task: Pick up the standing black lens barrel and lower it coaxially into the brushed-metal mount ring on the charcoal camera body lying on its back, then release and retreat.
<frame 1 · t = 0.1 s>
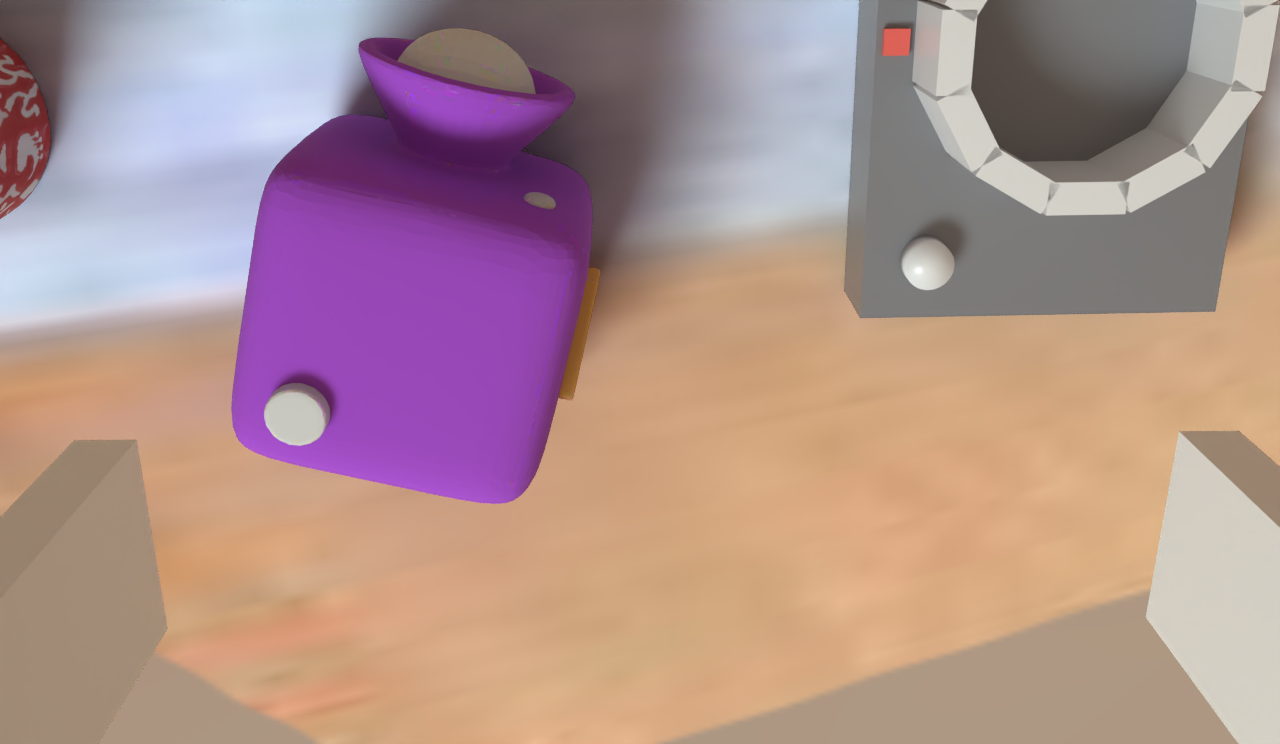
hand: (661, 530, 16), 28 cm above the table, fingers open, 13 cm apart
toy camera: (447, 213, 43), on the table
camera body: (1038, 28, 41), on the table
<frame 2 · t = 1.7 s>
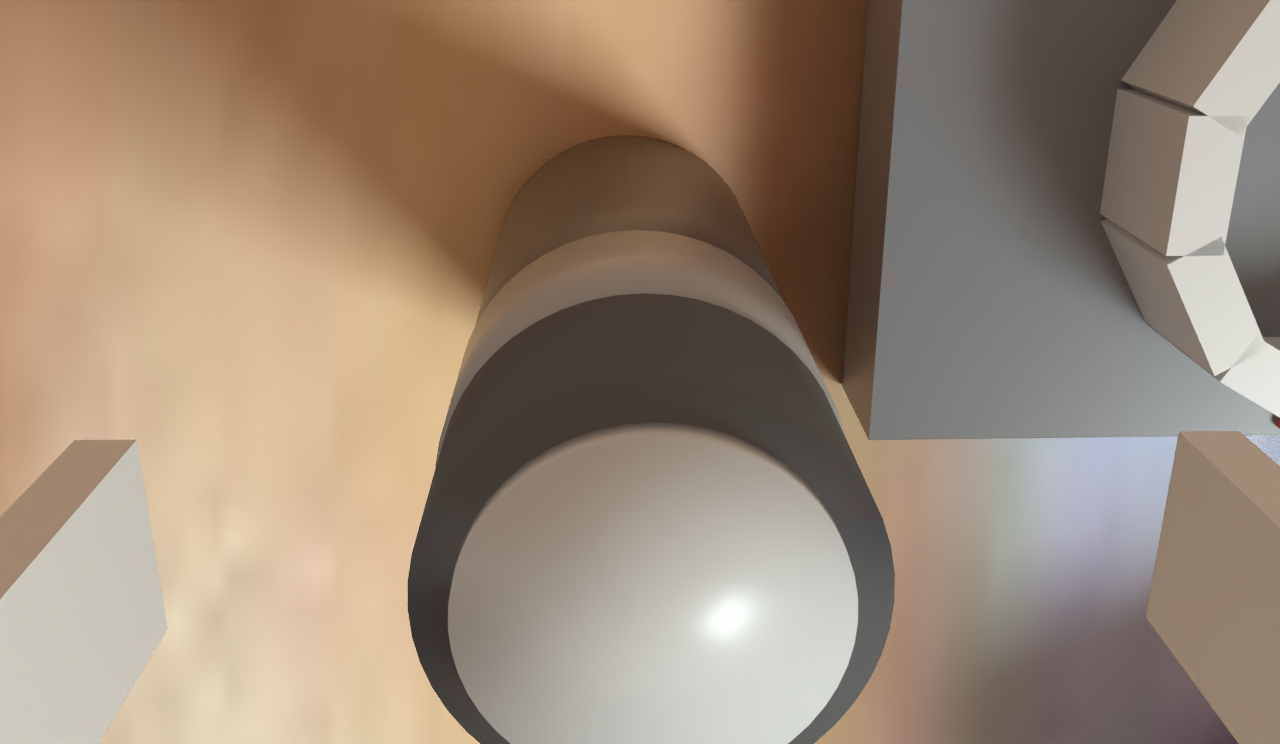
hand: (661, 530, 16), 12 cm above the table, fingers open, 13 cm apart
lens: (625, 262, 27), on the table
camera body: (1274, 123, 26), on the table
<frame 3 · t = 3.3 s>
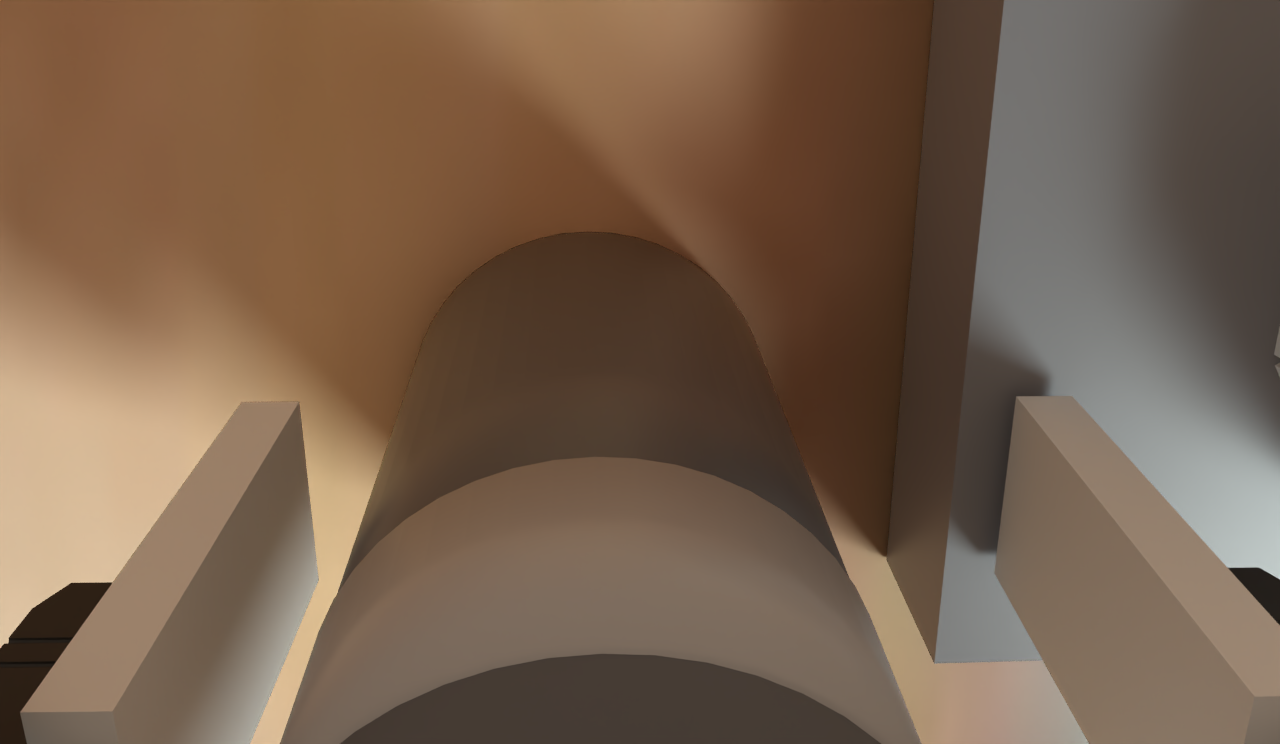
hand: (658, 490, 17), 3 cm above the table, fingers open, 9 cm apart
lens: (590, 402, 20), on the table
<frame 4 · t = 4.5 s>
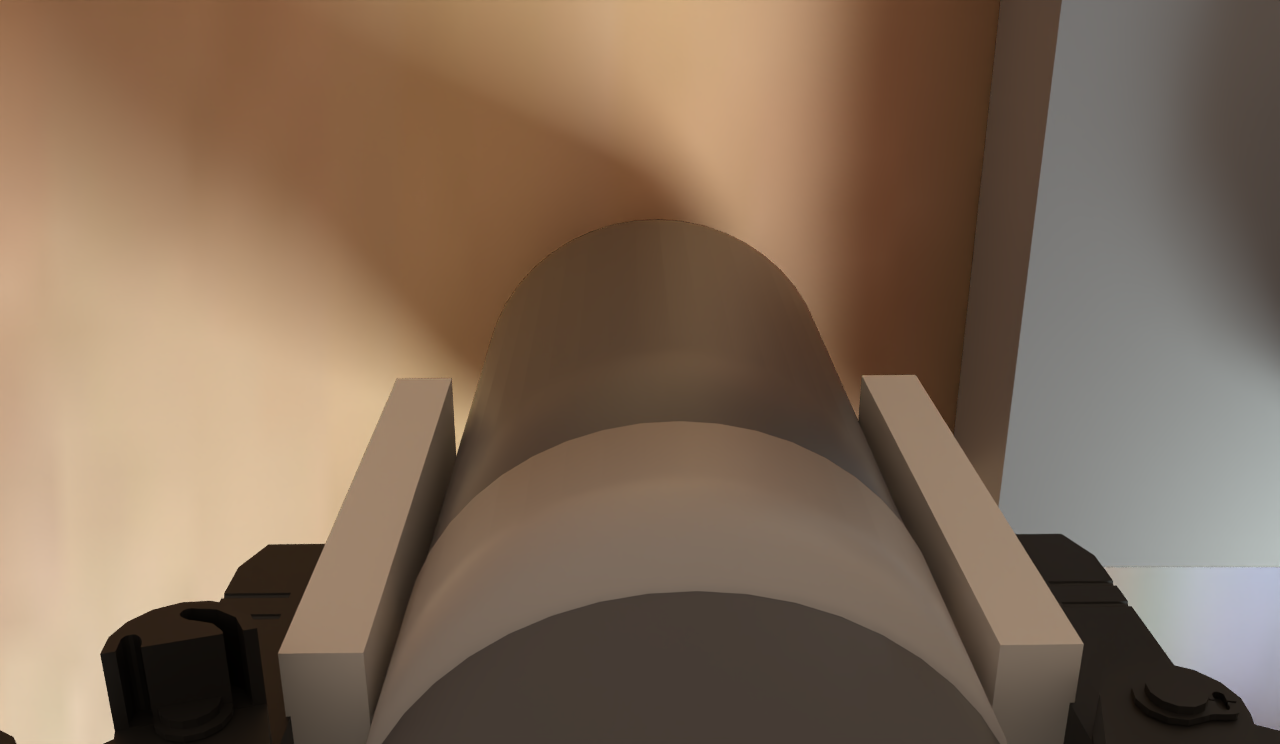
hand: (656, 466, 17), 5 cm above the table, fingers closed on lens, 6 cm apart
lens: (655, 384, 20), point 2 cm above the table, touching gripper
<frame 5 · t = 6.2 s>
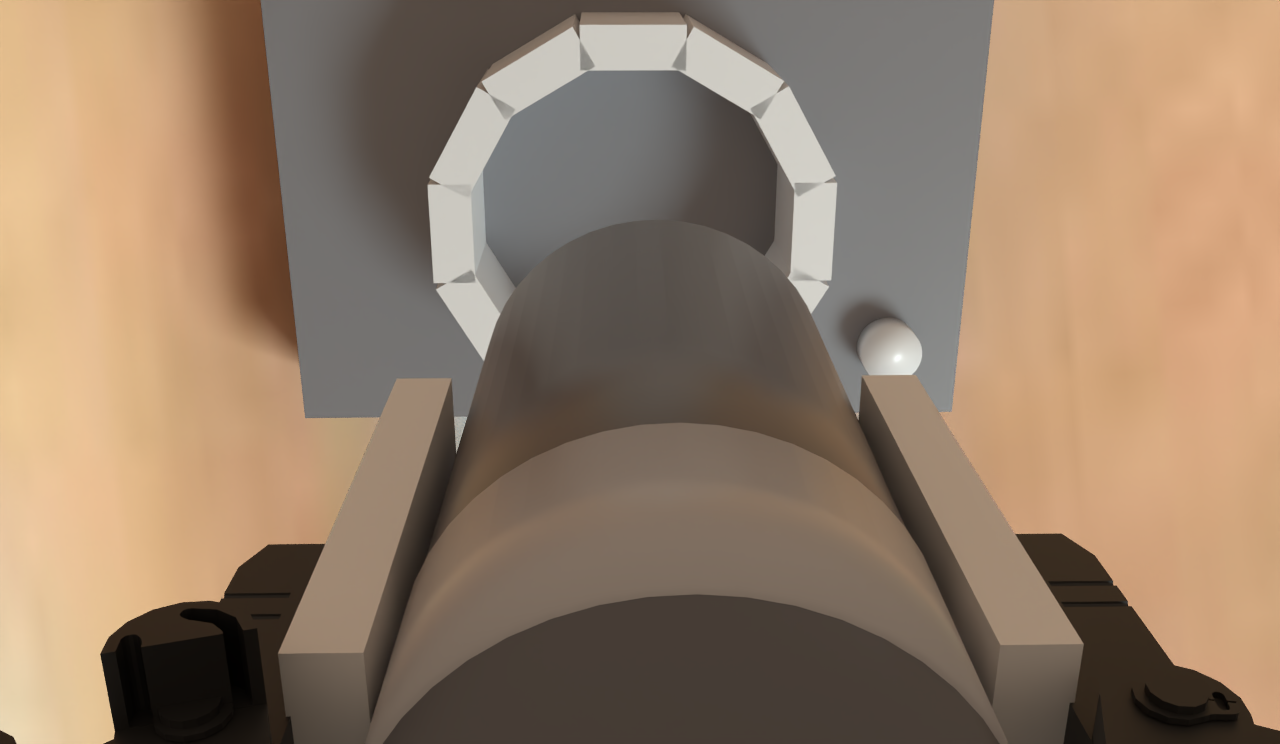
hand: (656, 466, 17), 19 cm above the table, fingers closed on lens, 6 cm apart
lens: (655, 385, 20), point 16 cm above the table, touching gripper
camera body: (628, 178, 35), on the table
when the fingers open (7 cm above the table, at t = 7.9 s): lens stays where it is, resting on camera body.
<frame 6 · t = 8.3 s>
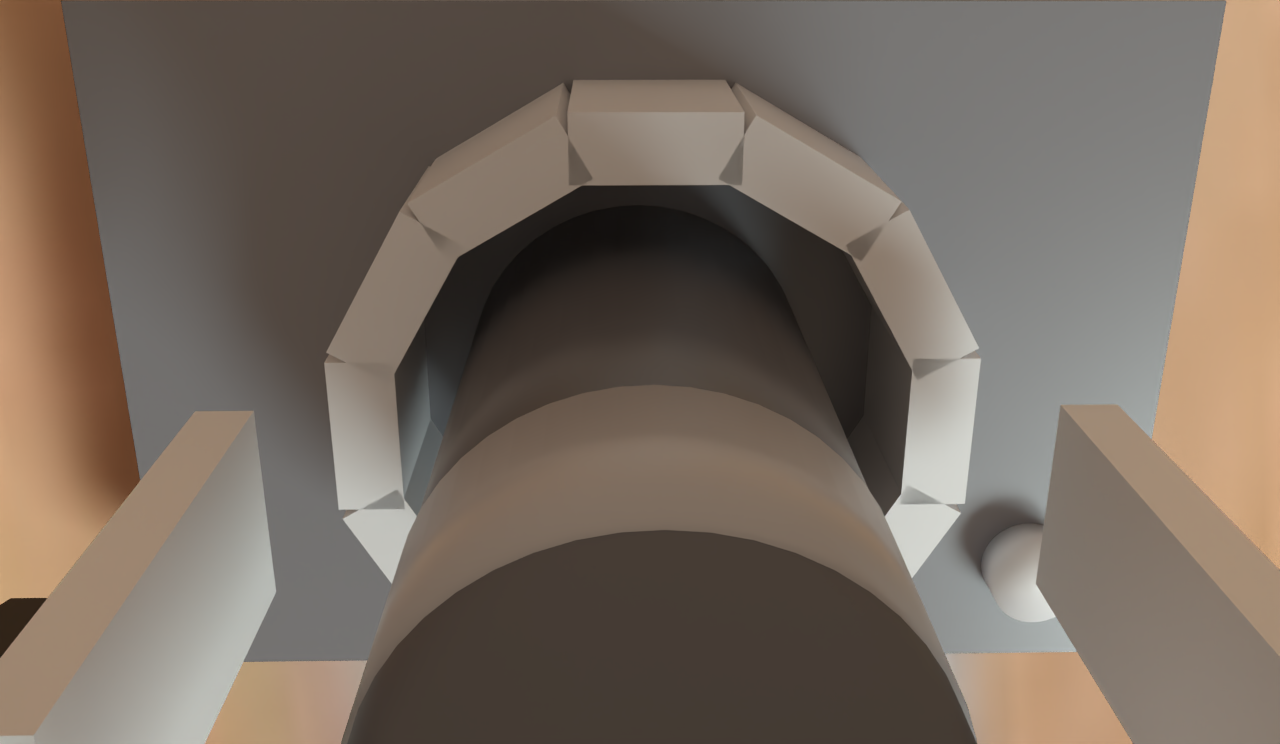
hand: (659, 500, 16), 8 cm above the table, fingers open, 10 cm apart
lens: (637, 364, 21), point 3 cm above the table, touching camera body
camera body: (643, 307, 24), on the table
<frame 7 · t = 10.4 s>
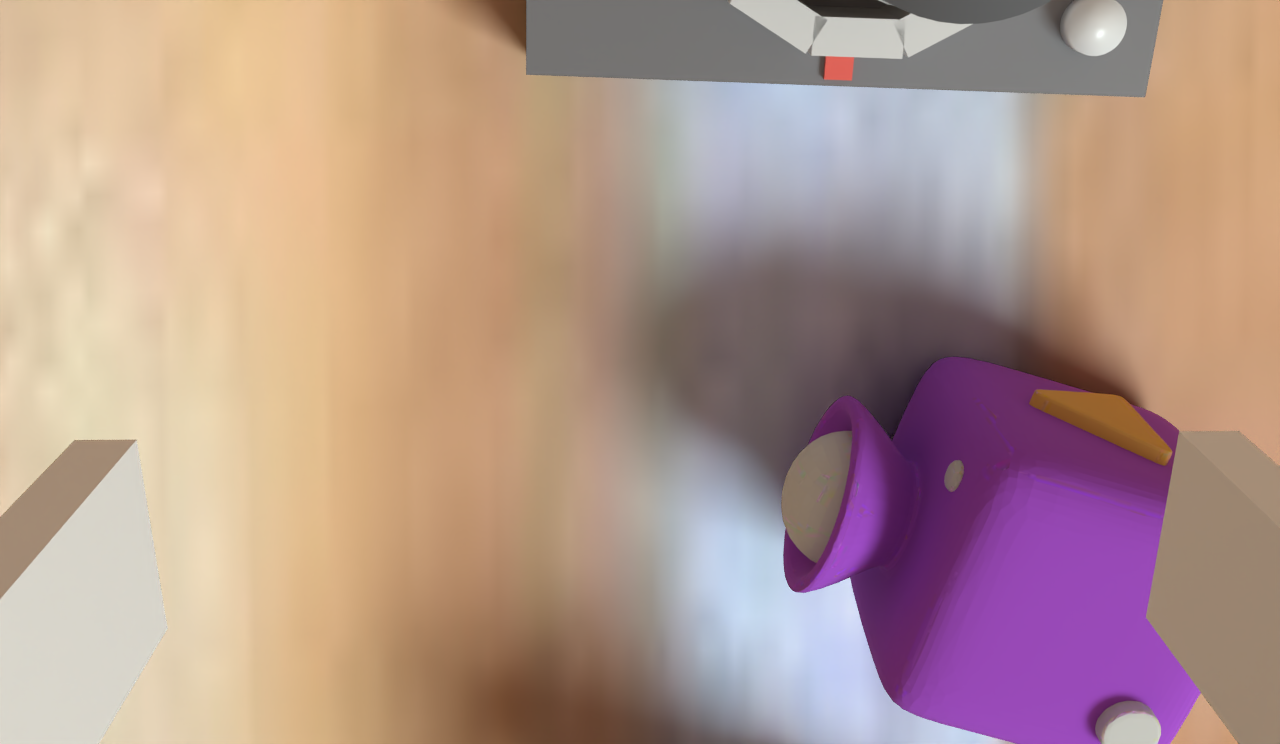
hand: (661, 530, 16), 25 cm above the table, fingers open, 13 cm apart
toy camera: (953, 474, 44), on the table
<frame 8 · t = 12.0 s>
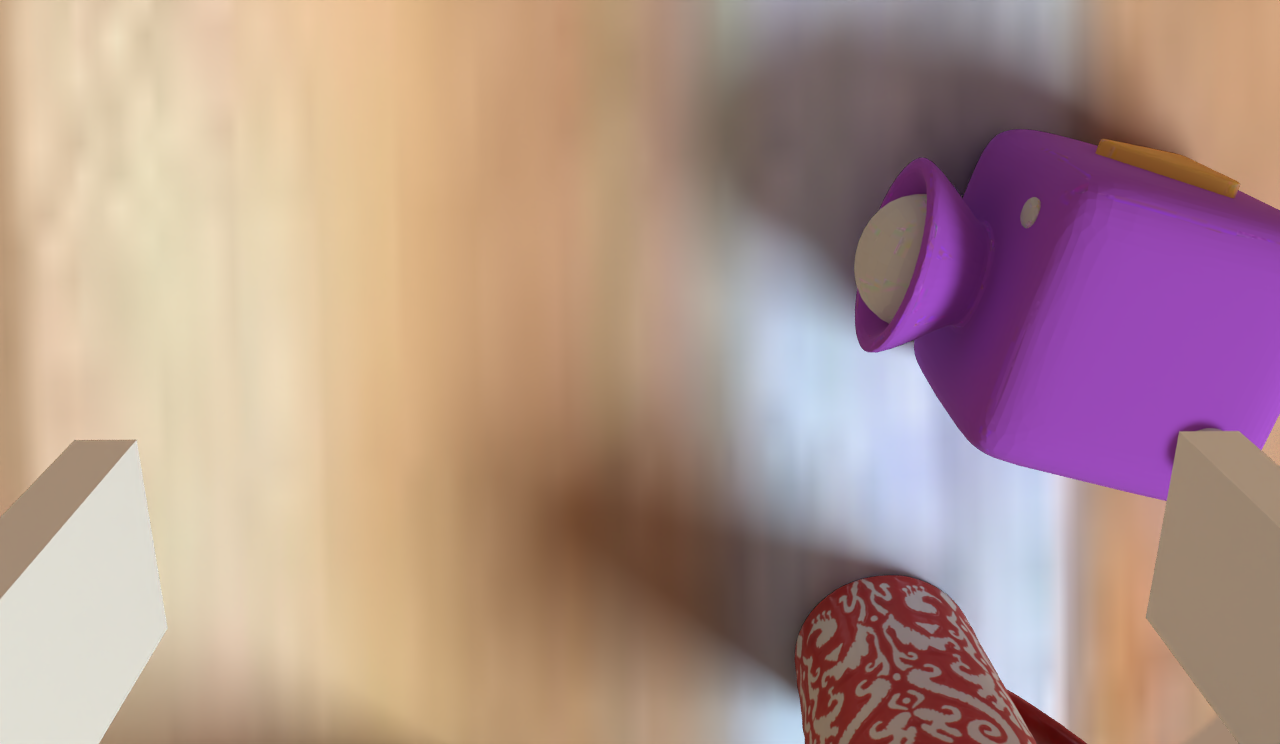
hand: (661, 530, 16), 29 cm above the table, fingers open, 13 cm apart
toy camera: (1012, 259, 45), on the table
mug: (918, 655, 51), on the table
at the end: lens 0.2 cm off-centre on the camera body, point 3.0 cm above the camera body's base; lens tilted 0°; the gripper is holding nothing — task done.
